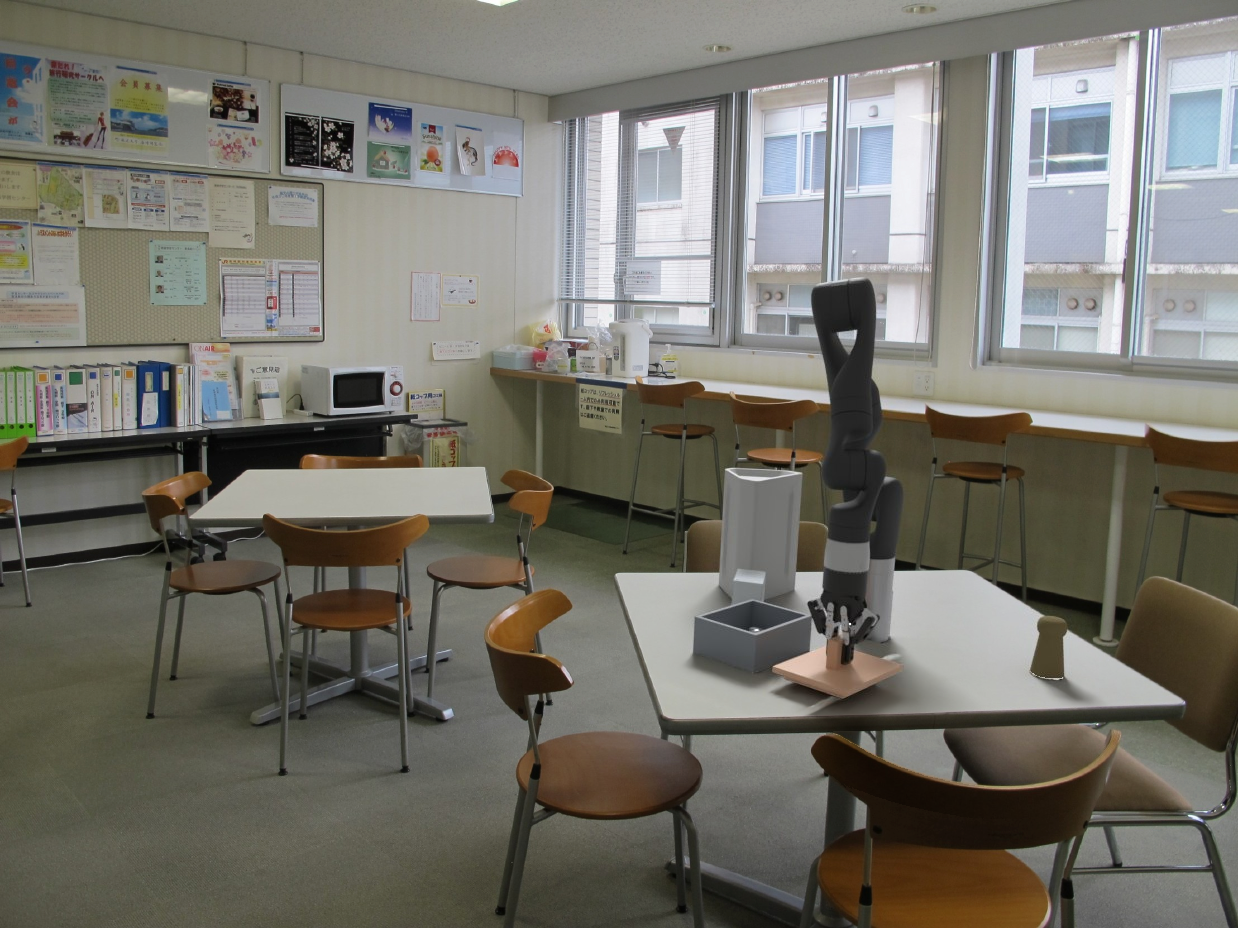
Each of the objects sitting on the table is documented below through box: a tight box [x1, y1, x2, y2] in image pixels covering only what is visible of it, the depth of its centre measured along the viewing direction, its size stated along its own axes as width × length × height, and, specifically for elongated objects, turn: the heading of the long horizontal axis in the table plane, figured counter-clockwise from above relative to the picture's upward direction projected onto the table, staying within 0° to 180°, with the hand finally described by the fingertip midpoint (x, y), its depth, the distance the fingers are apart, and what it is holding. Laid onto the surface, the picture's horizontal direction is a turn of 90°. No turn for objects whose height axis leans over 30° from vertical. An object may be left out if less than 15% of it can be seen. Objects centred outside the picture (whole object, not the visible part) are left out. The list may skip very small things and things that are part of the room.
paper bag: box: [718, 467, 803, 601], centre depth 233 cm, size 19×15×28 cm
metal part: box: [749, 627, 764, 633], centre depth 193 cm, size 3×3×3 cm
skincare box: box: [730, 569, 766, 606], centre depth 209 cm, size 10×6×10 cm, turn 168°
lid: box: [772, 633, 904, 699], centre depth 173 cm, size 19×15×7 cm
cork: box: [1029, 615, 1068, 678], centre depth 185 cm, size 6×6×11 cm
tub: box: [692, 599, 813, 674], centre depth 189 cm, size 18×14×8 cm
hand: (838, 661), depth 174 cm, fingers closed on lid
